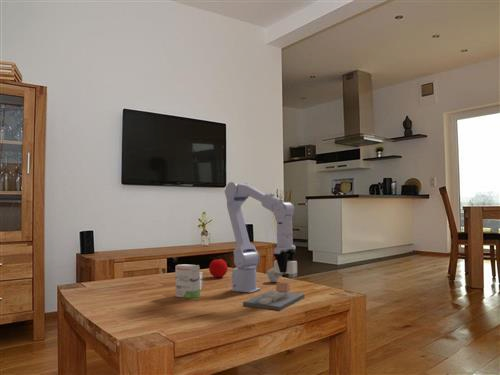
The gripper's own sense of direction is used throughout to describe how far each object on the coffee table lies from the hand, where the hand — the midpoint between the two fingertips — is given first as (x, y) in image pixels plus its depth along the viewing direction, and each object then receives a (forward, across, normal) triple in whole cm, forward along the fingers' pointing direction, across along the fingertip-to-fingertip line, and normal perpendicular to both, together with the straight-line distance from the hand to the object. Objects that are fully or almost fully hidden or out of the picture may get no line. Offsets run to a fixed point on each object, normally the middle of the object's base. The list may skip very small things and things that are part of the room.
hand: (285, 271), depth 136 cm
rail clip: (+7, 0, +1) cm, 7 cm away
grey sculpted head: (+10, +24, +17) cm, 31 cm away
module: (+2, 0, 0) cm, 2 cm away
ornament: (+10, +24, +47) cm, 53 cm away
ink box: (+10, -14, +34) cm, 38 cm away
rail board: (+9, -7, +1) cm, 12 cm away
